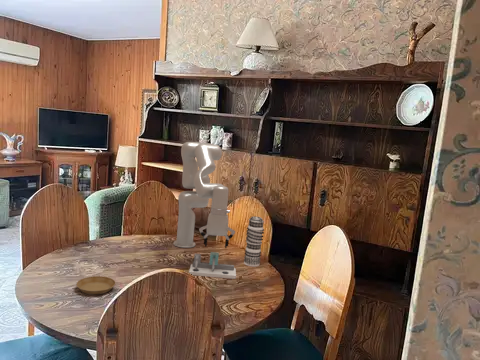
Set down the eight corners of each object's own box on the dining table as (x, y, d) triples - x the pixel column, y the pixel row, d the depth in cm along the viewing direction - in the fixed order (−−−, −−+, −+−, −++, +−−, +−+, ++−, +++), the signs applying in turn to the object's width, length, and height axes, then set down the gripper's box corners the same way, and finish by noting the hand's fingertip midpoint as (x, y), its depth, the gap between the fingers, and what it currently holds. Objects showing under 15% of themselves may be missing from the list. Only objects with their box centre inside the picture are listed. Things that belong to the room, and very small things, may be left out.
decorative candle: (259, 267, 198) (264, 220, 195) (241, 264, 200) (246, 218, 197) (261, 262, 207) (266, 217, 204) (244, 259, 209) (249, 214, 206)
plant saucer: (102, 279, 166) (102, 273, 165) (122, 290, 156) (122, 284, 156) (69, 287, 154) (69, 281, 154) (88, 300, 145) (88, 294, 145)
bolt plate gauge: (190, 267, 189) (192, 252, 189) (235, 271, 190) (236, 256, 189) (188, 274, 180) (190, 259, 179) (235, 278, 181) (237, 263, 180)
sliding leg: (209, 265, 189) (210, 251, 188) (217, 265, 189) (218, 252, 188) (208, 270, 182) (209, 256, 181) (217, 271, 182) (218, 257, 181)
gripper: (236, 211, 188) (233, 246, 190) (201, 208, 187) (198, 243, 189) (237, 214, 180) (233, 250, 182) (200, 211, 180) (197, 247, 181)
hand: (215, 246), depth 185 cm, fingers open, 9 cm apart
